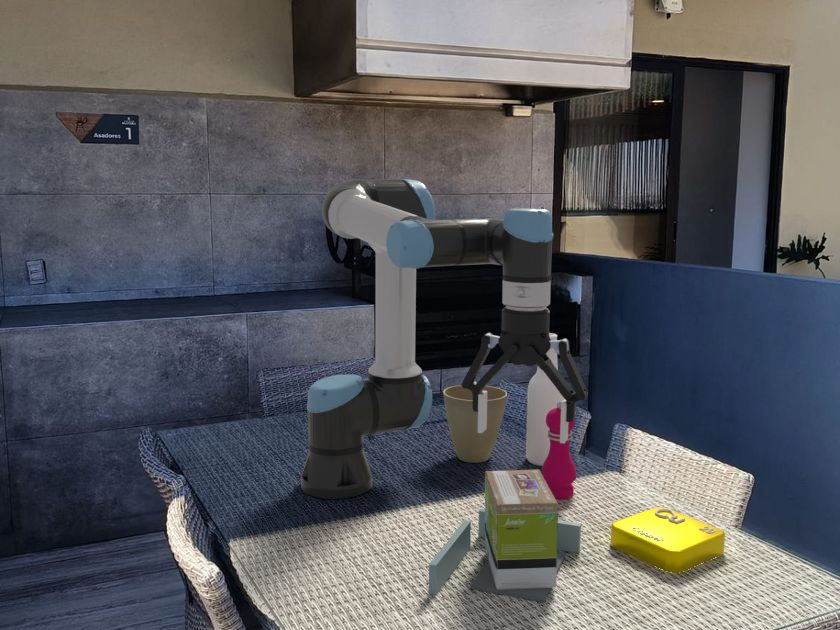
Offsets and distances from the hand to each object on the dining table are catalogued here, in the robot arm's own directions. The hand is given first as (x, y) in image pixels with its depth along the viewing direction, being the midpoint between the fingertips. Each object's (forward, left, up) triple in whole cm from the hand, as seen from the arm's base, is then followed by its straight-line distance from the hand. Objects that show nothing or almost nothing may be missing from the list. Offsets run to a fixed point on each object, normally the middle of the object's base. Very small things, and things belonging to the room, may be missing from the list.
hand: (522, 435), depth 133 cm
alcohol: (-8, +55, -24) cm, 61 cm away
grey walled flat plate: (-2, -1, -23) cm, 24 cm away
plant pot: (-24, +51, -24) cm, 61 cm away
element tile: (+22, +18, -24) cm, 37 cm away
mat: (0, 0, -24) cm, 24 cm away
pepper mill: (-1, +36, -24) cm, 43 cm away
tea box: (0, 0, -23) cm, 23 cm away
